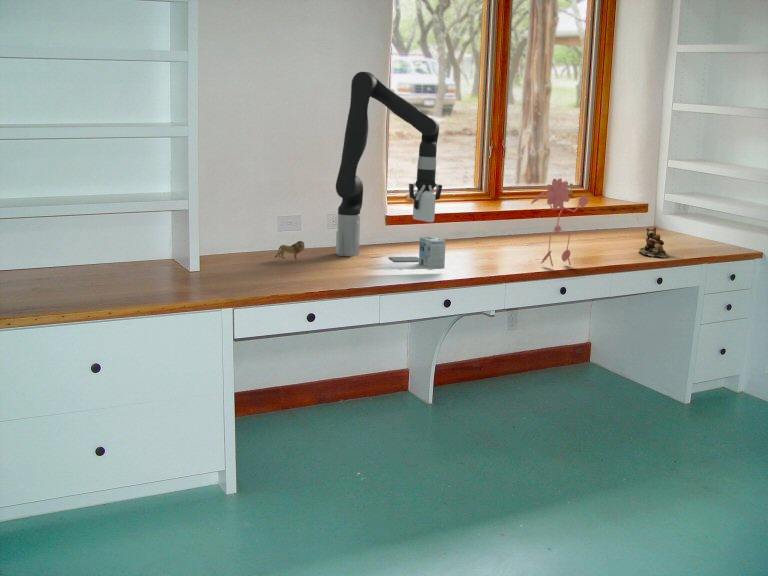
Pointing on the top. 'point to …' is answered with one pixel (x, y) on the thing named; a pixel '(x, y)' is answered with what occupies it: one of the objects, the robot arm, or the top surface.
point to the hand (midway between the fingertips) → (423, 209)
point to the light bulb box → (432, 252)
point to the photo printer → (425, 207)
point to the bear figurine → (653, 245)
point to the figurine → (557, 197)
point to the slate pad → (404, 259)
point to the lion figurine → (291, 249)
